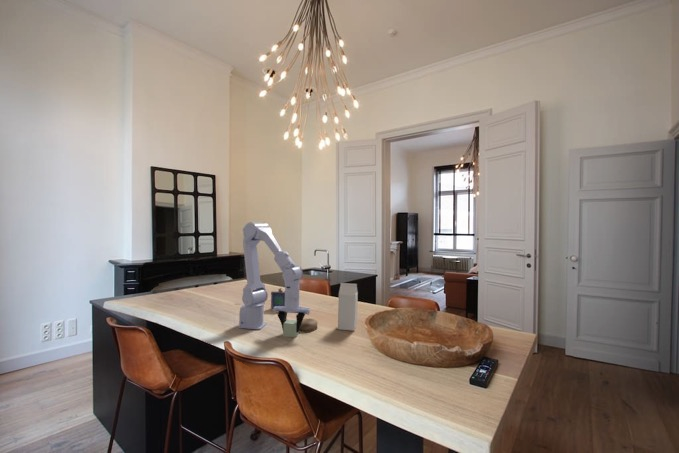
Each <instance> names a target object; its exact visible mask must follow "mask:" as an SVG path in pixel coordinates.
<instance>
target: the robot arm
mask: <svg viewBox="0 0 679 453" xmlns="http://www.w3.org/2000/svg"><path fill="white" fill-rule="evenodd" d="M242 232H243V234H242V235H243V240H242V246H243V255H244V265H245V273H246V281H247V282H246V284H245V286H244V287H243V289H242V295H241V296H242V298H241V300H242V303H243V304H242V305H241V307H240V309H239V313H238V314H239V318H238V320H239V321H238V324H239V325H238V327H237V328H239V329H249V330H261V329H262V328H263V327H265V325H267V324H268V323H267V322H265V321H264V315H265V314H264V310H265V309H264V307H265V305H266V304H265V303H266V301H267V300H268V296H269V294H268V290H266V284H264V283H263V282H262V281H261V274H260V263H259V256H258V255H259V254H258V247H257V245H258V244H259V243H260V242H262V241H263V242H264V243H265V245H266V246H267V247H268V249H269V250H270V251H271V253H273V254H274V262H275V263H276V264H277V266H278V268H279V269H280V271H281V272H282V274H281V275H282V280H283V281H284V292H285V306H275V307H274V309H272V310H273V311H272V312H273V313H278V314H277V317H278V320H279V322H280V324H281V327H282V330H283V323H284V322H285V321H287V317H288V313H290V314H296V316H295V317H296V318H295V320H297V332H299V333H300V332H301V331H300V326H301V323H302V320H303V319H305V315H310V314H311V307H302V306H300V288H301V287H300V284H301V279H302V278H303V276H304V275H303V274H304V272H303V269H302V267H301V266H300V265H297V264H296V262H294V260H293V259H292V258H291V256H290V253H289V252H287V251H285V250H282V248H281V246H280V244H279V243H278V241H277V239H276V238H275V236H274V234H273V230H272V228H271V227H270V225H269V223H267V222H252V221H250V222H246V224H245V225H244V227H243V228H242Z"/></svg>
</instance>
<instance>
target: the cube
mask: <svg viewBox="0 0 679 453" xmlns="http://www.w3.org/2000/svg"><path fill="white" fill-rule="evenodd" d="M282 331H283V332H282V336H283V337H286V338H297V336H298V335H299V333H300V331H299V332H297V319H286V321H285V322H284V323H283V329H282Z"/></svg>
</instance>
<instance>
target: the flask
mask: <svg viewBox="0 0 679 453" xmlns="http://www.w3.org/2000/svg"><path fill="white" fill-rule="evenodd" d="M277 290H278V291H277ZM277 290H272V291H271V292H270V309H271V310H273V309H274V307H275V306H285V291H283V290H282V287H281V288H280V287H279V288H277Z"/></svg>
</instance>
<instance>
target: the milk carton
mask: <svg viewBox="0 0 679 453" xmlns="http://www.w3.org/2000/svg"><path fill="white" fill-rule="evenodd" d="M358 294H359V290H358V283H347V282H346V283H345V282H340V286H339V290H338V303H337V304H338V307H337V308H338V309H337V310H338V311H337V313H338V314H337V315H338V316H337V330H342V331H352V332H354V331H355V330H356V329H357V325H358V301H359V300H358V297H359V295H358Z"/></svg>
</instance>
